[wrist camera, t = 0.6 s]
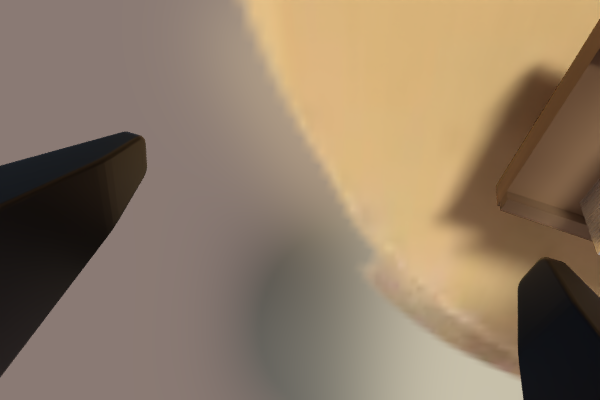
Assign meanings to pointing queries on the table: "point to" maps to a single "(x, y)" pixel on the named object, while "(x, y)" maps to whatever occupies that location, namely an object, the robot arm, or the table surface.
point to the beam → (560, 151)
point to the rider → (593, 213)
